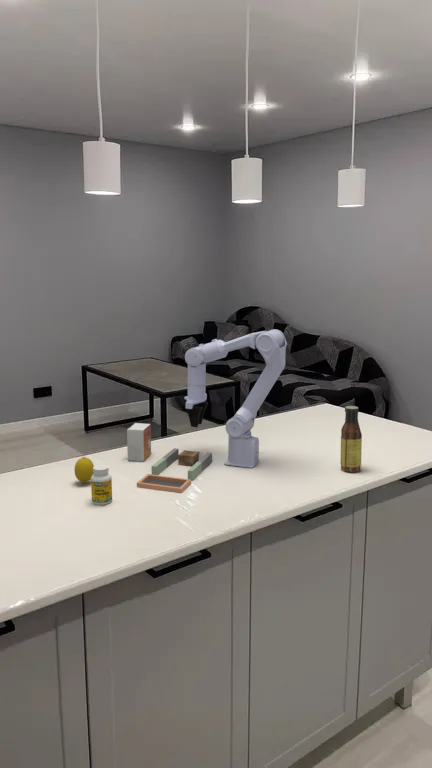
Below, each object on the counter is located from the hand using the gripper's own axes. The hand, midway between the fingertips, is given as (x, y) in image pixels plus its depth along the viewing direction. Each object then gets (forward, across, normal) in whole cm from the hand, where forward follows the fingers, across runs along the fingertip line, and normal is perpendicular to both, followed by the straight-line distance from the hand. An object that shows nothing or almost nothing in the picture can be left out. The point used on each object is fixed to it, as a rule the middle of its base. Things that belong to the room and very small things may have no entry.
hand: (196, 425), depth 196 cm
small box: (+11, +8, -17) cm, 21 cm away
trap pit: (+10, +27, 0) cm, 29 cm away
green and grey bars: (+10, +12, 0) cm, 16 cm away
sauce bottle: (+10, -4, +49) cm, 50 cm away
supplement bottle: (+11, +44, -11) cm, 46 cm away
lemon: (+11, +34, -22) cm, 41 cm away
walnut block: (+11, +8, 0) cm, 13 cm away
